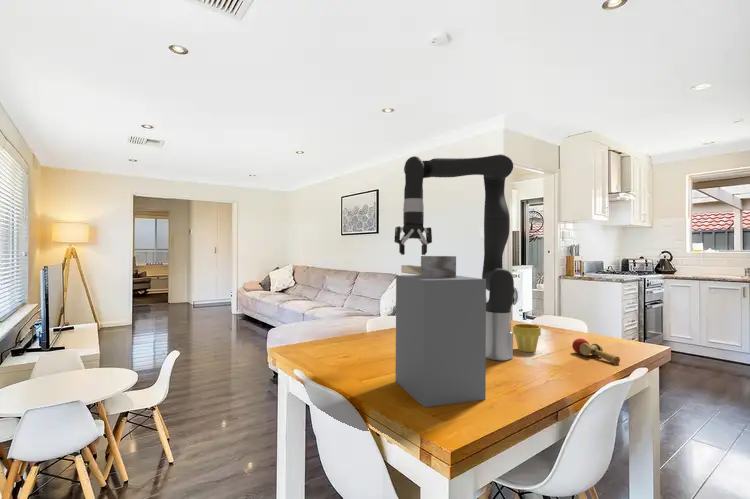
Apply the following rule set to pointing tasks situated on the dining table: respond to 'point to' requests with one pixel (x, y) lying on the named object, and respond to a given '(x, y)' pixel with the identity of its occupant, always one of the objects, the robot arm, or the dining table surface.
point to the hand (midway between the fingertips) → (413, 254)
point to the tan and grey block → (433, 267)
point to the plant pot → (527, 336)
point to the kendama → (593, 350)
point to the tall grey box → (441, 338)
